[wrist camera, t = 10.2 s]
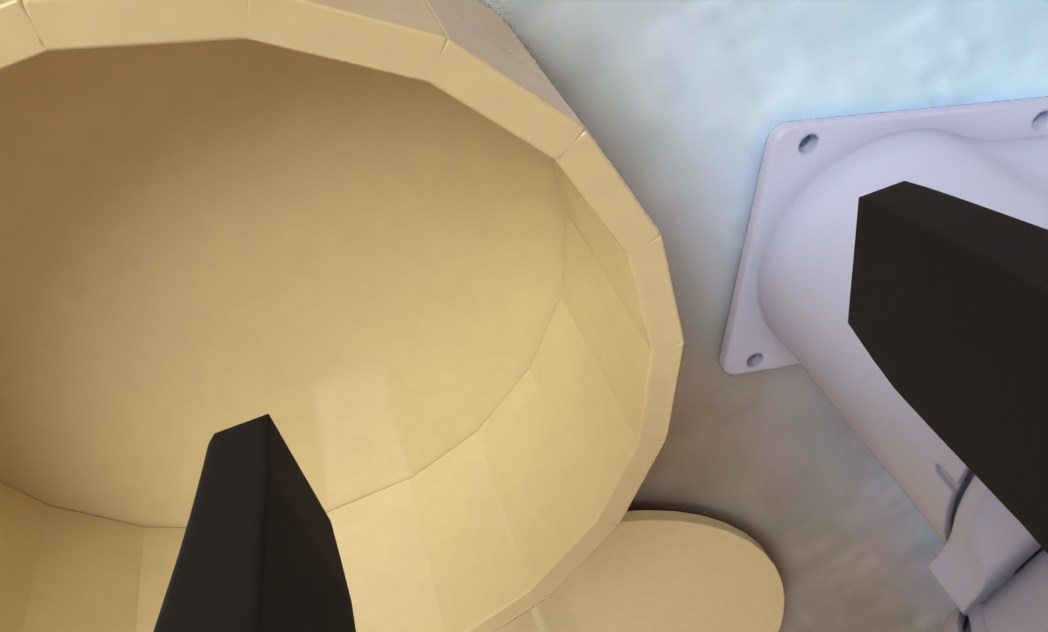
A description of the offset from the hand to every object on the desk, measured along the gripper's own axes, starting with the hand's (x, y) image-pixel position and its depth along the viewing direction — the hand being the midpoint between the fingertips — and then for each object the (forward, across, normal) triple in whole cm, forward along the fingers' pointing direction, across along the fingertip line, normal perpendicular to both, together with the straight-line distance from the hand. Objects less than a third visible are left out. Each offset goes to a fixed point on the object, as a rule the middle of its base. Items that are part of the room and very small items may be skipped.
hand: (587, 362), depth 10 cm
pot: (+11, +5, +4) cm, 13 cm away
